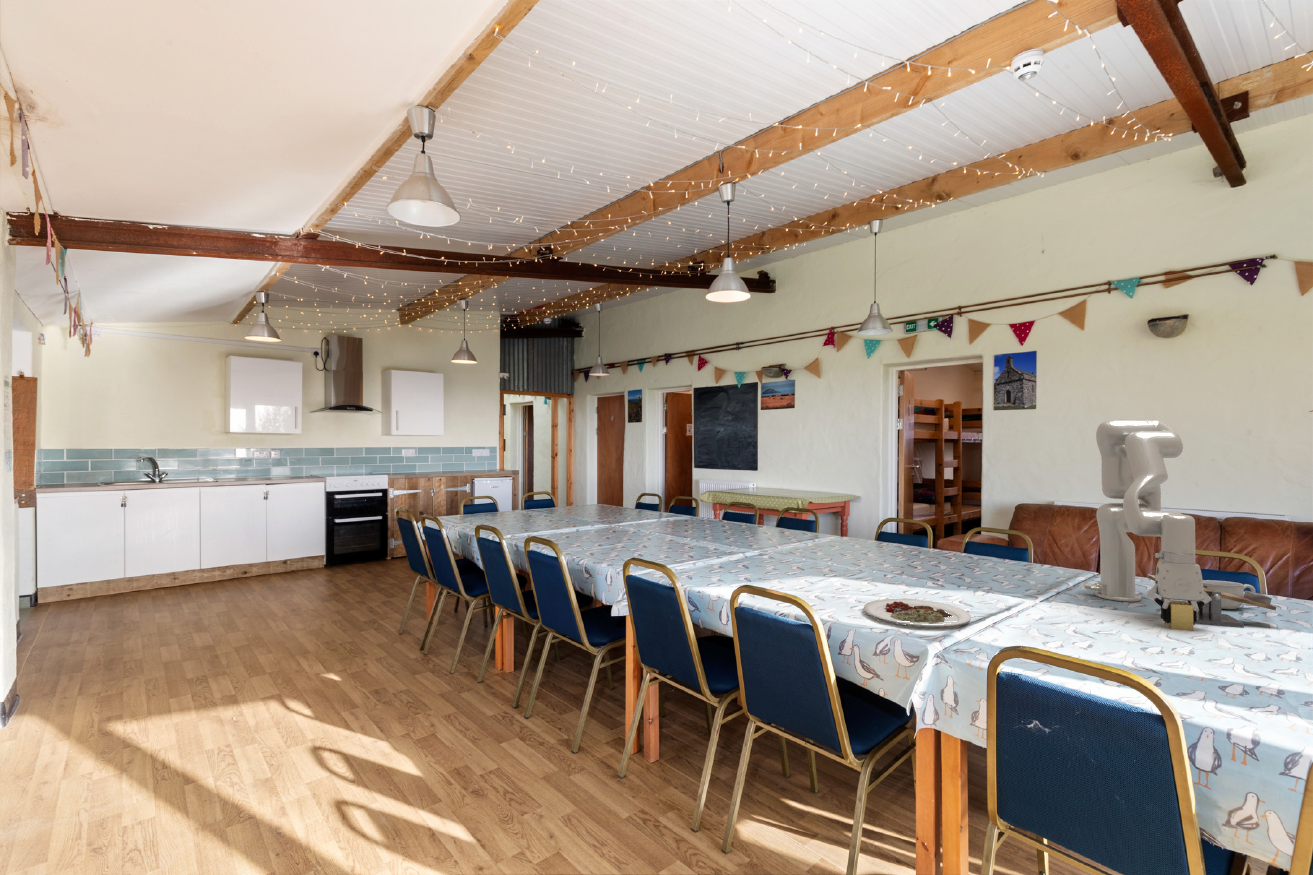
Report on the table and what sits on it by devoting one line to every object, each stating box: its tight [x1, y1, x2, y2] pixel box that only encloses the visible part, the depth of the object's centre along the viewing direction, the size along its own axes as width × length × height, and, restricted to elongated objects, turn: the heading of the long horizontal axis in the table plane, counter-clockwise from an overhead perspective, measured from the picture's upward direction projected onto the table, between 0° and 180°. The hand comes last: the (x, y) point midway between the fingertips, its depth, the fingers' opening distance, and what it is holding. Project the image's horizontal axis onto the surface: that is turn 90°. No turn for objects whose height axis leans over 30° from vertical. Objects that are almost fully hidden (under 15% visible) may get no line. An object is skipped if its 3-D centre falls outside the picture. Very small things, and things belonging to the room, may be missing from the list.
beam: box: [1147, 573, 1277, 611], centre depth 188 cm, size 28×7×3 cm, turn 69°
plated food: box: [863, 598, 972, 628], centre depth 194 cm, size 30×30×3 cm
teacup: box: [1202, 579, 1256, 610], centre depth 202 cm, size 14×11×8 cm
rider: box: [1163, 599, 1194, 632], centre depth 181 cm, size 5×5×7 cm
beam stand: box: [1195, 585, 1245, 629], centre depth 188 cm, size 12×11×10 cm
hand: (1178, 622), depth 181 cm, fingers closed on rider, 5 cm apart
